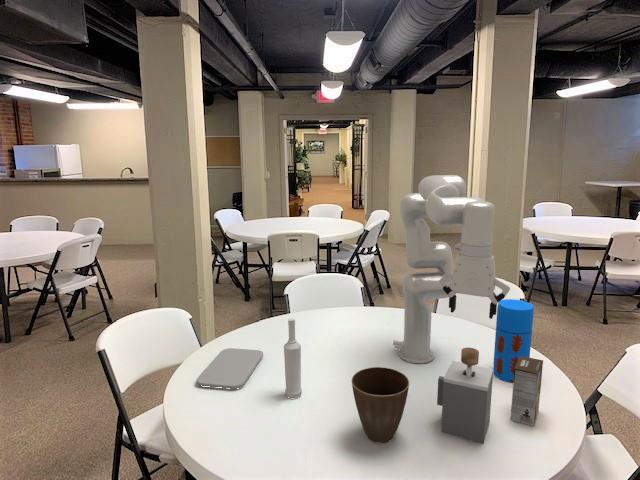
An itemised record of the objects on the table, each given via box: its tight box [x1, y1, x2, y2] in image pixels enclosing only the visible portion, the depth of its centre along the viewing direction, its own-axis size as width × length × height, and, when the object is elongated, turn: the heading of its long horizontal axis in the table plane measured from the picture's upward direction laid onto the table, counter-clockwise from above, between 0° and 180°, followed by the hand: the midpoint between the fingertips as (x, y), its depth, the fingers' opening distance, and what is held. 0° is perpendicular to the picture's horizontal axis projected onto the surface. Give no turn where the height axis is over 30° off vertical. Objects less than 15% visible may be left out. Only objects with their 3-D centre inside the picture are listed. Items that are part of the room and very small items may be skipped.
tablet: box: [196, 347, 264, 389], centre depth 158 cm, size 16×26×2 cm, turn 170°
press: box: [436, 360, 494, 445], centre depth 124 cm, size 13×11×16 cm
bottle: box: [283, 317, 303, 399], centre depth 140 cm, size 5×5×25 cm
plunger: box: [460, 347, 480, 377], centre depth 123 cm, size 8×8×19 cm
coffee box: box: [510, 356, 544, 427], centre depth 128 cm, size 9×6×16 cm
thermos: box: [493, 298, 535, 384], centre depth 150 cm, size 11×11×25 cm
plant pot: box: [351, 366, 410, 444], centre depth 121 cm, size 15×15×16 cm
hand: (471, 313), depth 119 cm, fingers open, 9 cm apart
